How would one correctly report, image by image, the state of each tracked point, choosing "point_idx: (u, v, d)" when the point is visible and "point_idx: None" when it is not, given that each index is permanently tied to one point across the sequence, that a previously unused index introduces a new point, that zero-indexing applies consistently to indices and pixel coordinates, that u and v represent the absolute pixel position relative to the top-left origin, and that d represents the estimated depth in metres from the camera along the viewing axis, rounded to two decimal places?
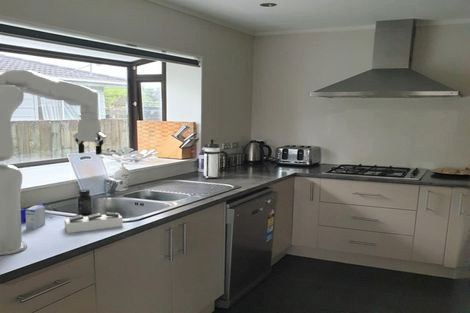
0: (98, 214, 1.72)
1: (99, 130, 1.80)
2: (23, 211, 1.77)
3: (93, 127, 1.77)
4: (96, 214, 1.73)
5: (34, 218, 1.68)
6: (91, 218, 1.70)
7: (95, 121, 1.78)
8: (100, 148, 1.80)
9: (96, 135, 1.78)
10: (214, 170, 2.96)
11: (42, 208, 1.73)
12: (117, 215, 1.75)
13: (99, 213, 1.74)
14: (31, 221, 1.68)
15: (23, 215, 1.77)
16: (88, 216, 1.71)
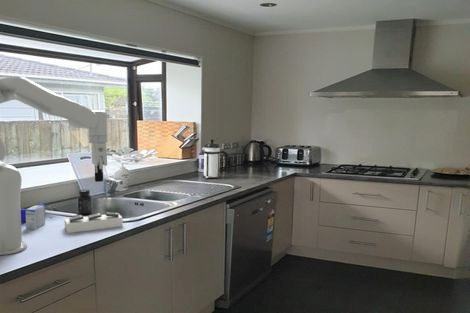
0: (98, 214, 1.72)
1: None
2: (24, 211, 1.77)
3: None
4: (96, 214, 1.73)
5: (34, 218, 1.68)
6: (91, 218, 1.70)
7: None
8: None
9: None
10: (214, 170, 2.96)
11: (42, 208, 1.73)
12: (117, 215, 1.75)
13: (99, 213, 1.74)
14: (31, 221, 1.68)
15: (24, 215, 1.77)
16: (88, 216, 1.71)
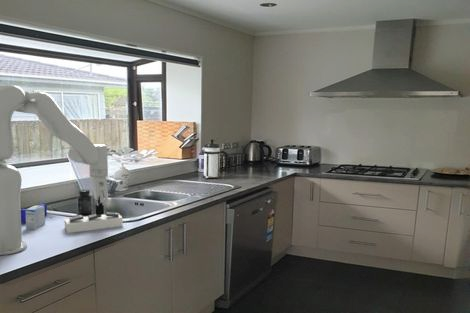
0: None
1: None
2: None
3: None
4: (96, 214, 1.73)
5: (34, 218, 1.68)
6: (91, 218, 1.70)
7: None
8: None
9: None
10: (214, 170, 2.96)
11: (42, 208, 1.73)
12: (117, 215, 1.75)
13: None
14: (31, 221, 1.68)
15: None
16: (88, 216, 1.71)
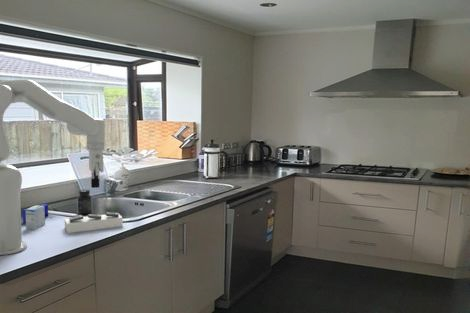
0: (98, 215, 1.72)
1: None
2: None
3: None
4: (96, 215, 1.73)
5: (34, 218, 1.68)
6: (91, 217, 1.70)
7: None
8: None
9: None
10: (214, 170, 2.96)
11: (42, 208, 1.73)
12: (117, 215, 1.75)
13: (99, 215, 1.74)
14: (31, 221, 1.68)
15: None
16: (88, 214, 1.71)
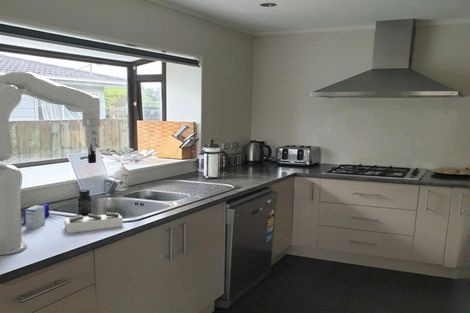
0: (99, 216, 1.72)
1: None
2: None
3: None
4: (96, 215, 1.73)
5: (34, 218, 1.68)
6: (91, 216, 1.70)
7: None
8: None
9: None
10: (214, 170, 2.96)
11: (42, 208, 1.73)
12: (117, 215, 1.75)
13: (99, 215, 1.74)
14: (31, 221, 1.68)
15: None
16: (89, 214, 1.71)
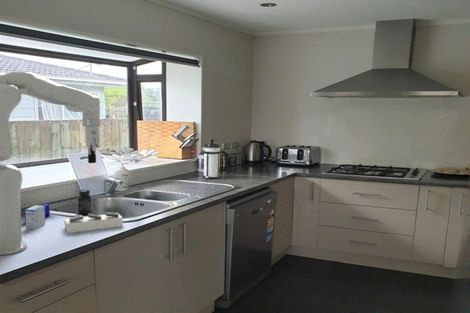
0: (99, 216, 1.72)
1: None
2: None
3: None
4: (96, 215, 1.73)
5: (34, 218, 1.68)
6: (91, 216, 1.70)
7: None
8: None
9: None
10: (214, 170, 2.96)
11: (42, 208, 1.73)
12: (117, 215, 1.75)
13: (99, 215, 1.74)
14: (31, 221, 1.68)
15: None
16: (89, 214, 1.71)
